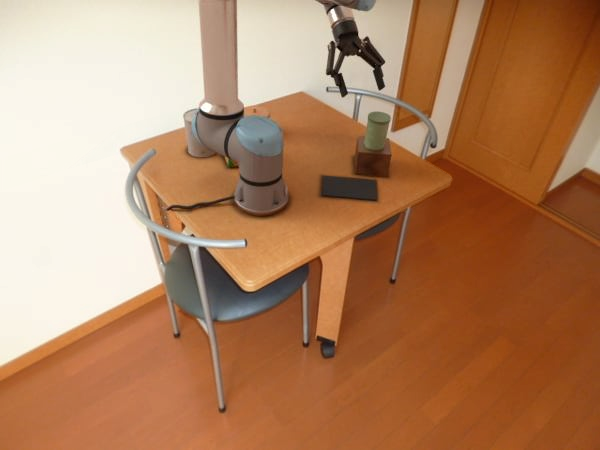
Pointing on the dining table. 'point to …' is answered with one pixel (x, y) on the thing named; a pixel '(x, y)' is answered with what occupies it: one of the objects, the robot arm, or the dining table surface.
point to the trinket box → (256, 111)
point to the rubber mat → (349, 188)
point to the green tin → (376, 130)
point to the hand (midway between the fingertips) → (363, 92)
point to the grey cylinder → (193, 144)
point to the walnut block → (372, 159)
